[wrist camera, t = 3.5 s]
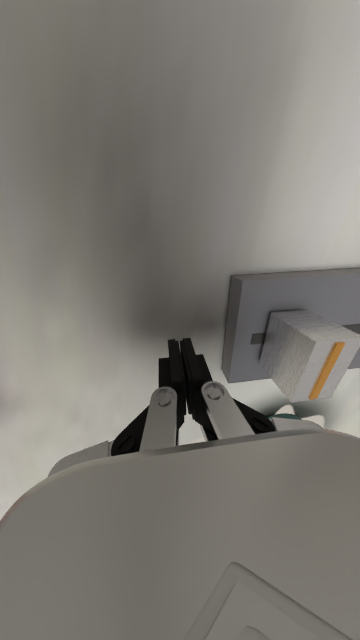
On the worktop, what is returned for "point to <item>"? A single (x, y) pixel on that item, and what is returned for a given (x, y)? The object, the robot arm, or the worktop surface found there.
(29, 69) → the worktop surface
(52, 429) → the worktop surface
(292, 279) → the fader console
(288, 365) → the fader knob
